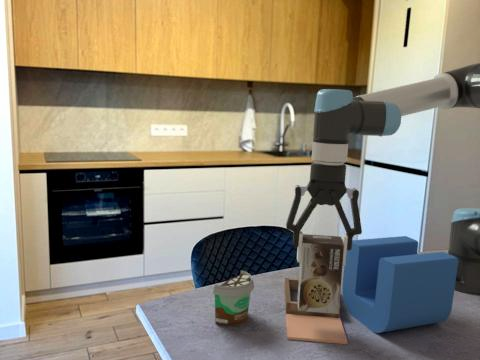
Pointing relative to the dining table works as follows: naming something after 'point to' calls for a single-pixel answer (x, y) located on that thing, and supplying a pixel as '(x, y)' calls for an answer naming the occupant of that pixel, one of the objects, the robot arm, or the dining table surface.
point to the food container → (233, 300)
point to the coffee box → (320, 274)
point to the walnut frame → (293, 306)
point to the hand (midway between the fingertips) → (320, 261)
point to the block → (397, 284)
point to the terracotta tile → (315, 329)
